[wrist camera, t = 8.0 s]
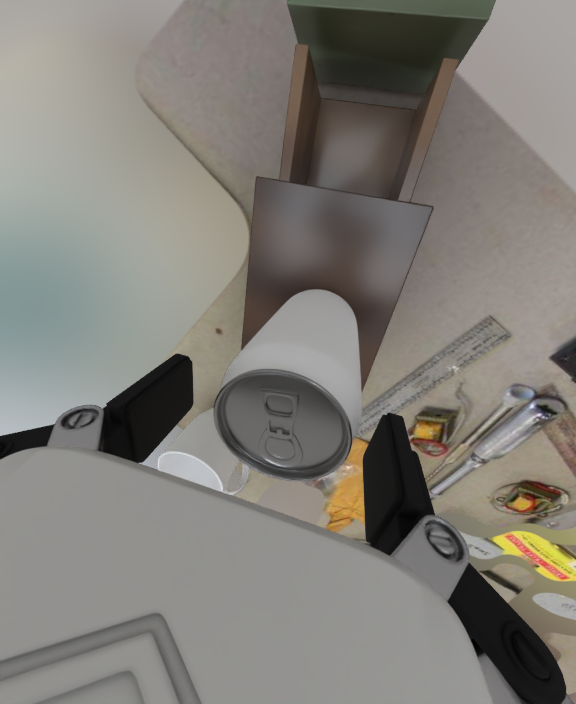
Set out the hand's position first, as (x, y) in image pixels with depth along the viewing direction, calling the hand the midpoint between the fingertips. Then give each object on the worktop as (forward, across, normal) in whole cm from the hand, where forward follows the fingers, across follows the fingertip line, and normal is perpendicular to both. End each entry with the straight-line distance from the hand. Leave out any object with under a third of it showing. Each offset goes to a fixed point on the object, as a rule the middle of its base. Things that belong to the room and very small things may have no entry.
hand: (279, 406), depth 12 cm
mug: (+20, +9, +23) cm, 31 cm away
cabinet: (+20, 0, -2) cm, 20 cm away
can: (+10, 0, 0) cm, 10 cm away
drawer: (+19, 0, -14) cm, 24 cm away
